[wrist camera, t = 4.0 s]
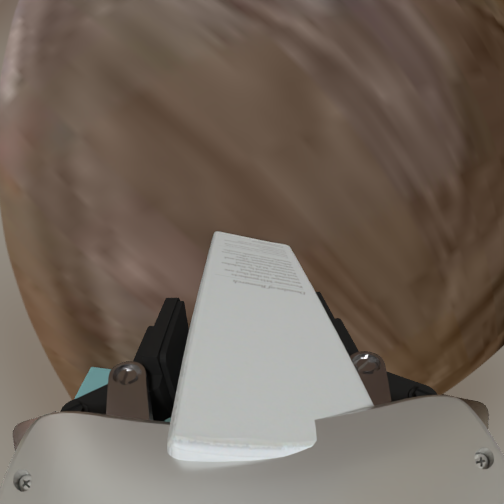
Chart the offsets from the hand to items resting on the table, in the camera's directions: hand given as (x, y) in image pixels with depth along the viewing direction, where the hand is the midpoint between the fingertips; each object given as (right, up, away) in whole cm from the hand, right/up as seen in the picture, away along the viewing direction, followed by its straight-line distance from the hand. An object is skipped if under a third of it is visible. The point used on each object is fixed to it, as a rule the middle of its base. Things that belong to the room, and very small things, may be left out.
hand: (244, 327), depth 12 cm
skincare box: (0, +1, +4) cm, 4 cm away
